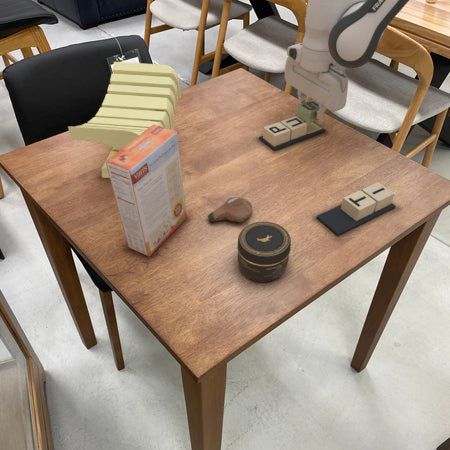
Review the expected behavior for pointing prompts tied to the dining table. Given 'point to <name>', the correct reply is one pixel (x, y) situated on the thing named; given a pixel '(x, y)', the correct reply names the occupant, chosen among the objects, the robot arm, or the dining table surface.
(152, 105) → the slatted curved stool
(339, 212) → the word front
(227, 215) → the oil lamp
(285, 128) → the word back
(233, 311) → the dining table surface
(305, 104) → the s tile
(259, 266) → the jar
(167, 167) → the cracker box
